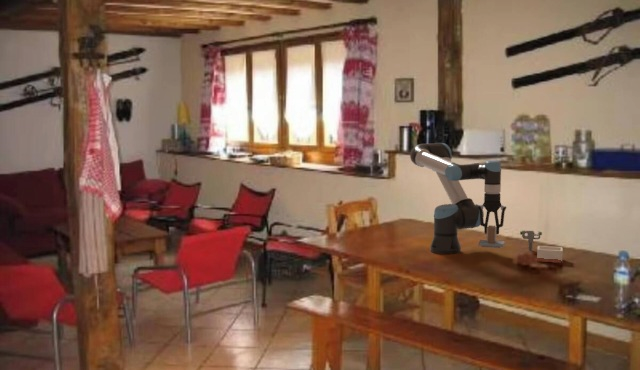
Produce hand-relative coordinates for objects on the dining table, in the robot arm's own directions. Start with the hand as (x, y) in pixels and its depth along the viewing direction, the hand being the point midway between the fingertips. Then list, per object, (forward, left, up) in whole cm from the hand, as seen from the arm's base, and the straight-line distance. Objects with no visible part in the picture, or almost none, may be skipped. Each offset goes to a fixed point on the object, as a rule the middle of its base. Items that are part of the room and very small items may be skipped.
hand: (491, 240), depth 312 cm
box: (+27, -1, -8) cm, 28 cm away
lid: (0, 0, -2) cm, 2 cm away
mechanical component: (+17, +18, -8) cm, 26 cm away
